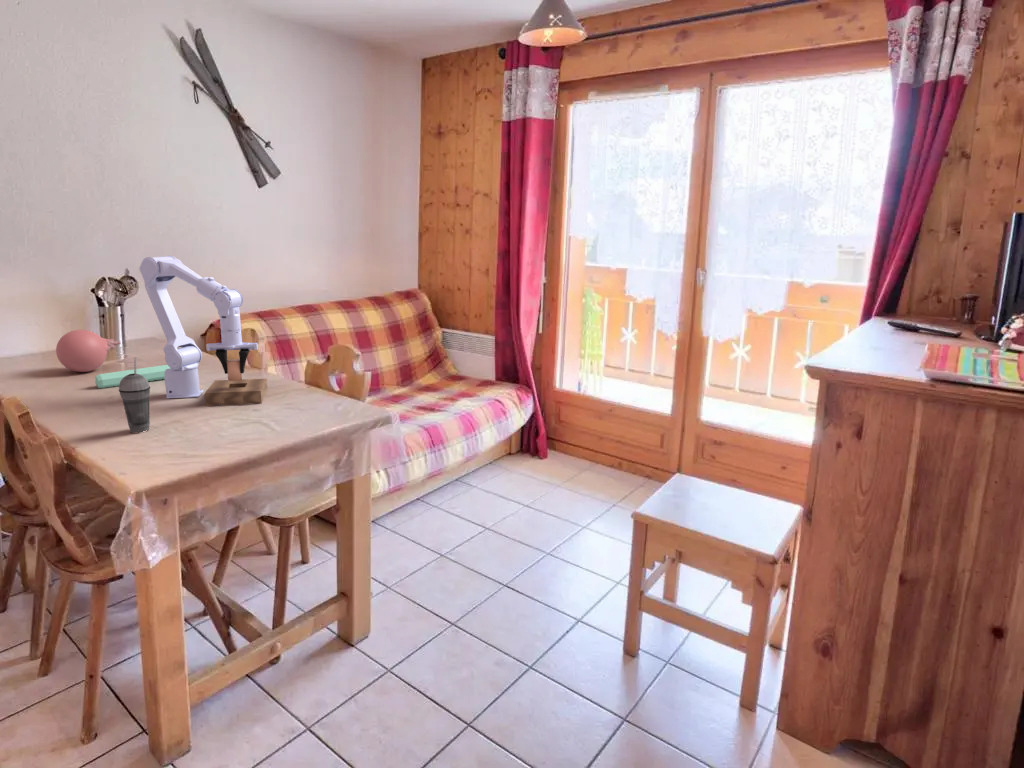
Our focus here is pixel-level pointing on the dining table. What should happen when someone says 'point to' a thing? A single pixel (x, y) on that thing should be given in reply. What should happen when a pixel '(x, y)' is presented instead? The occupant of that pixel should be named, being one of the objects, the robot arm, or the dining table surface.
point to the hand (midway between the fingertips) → (234, 372)
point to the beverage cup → (136, 400)
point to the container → (116, 377)
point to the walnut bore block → (236, 392)
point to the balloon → (83, 350)
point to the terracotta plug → (234, 370)
